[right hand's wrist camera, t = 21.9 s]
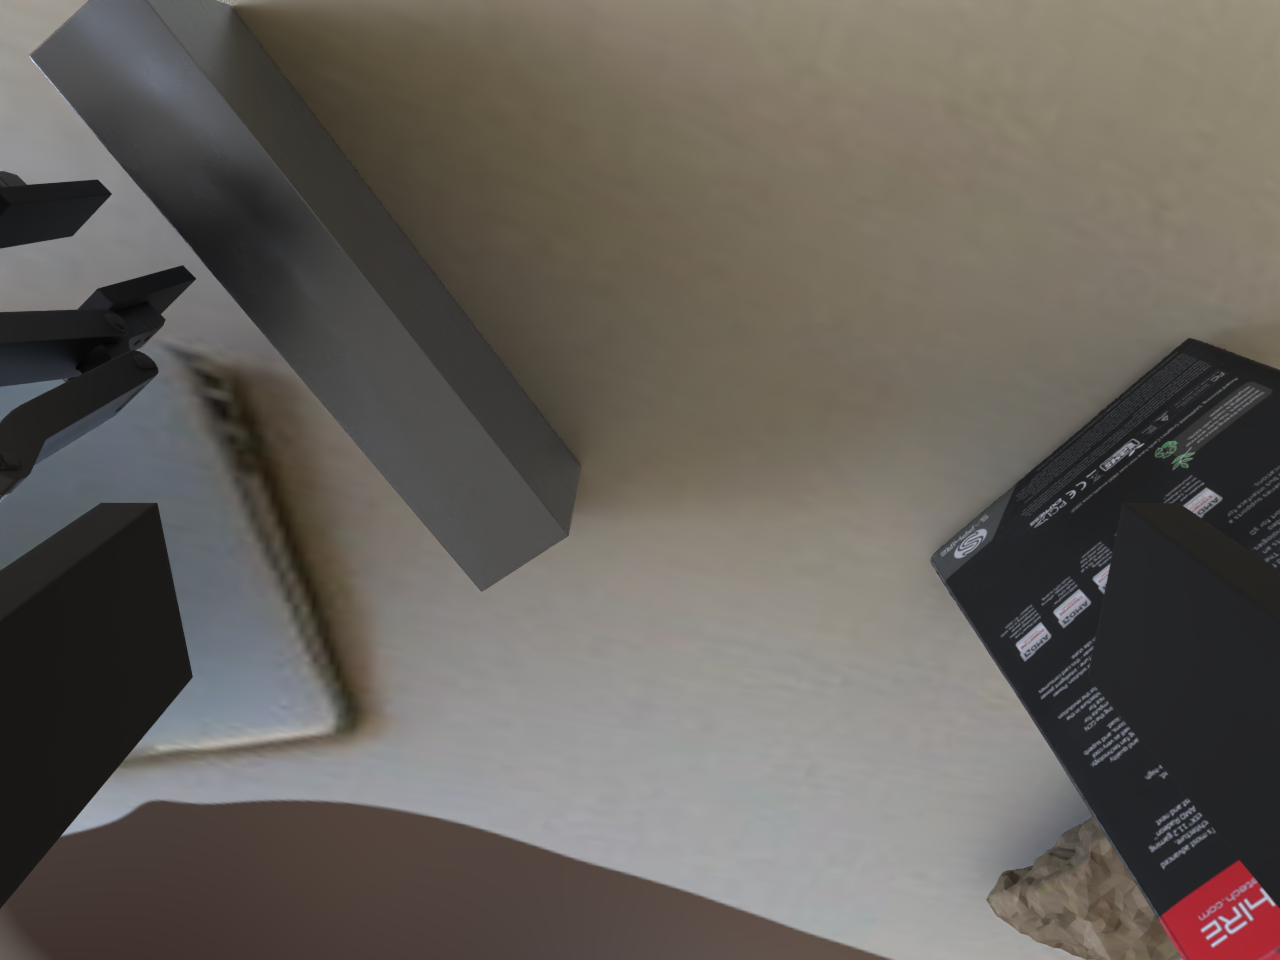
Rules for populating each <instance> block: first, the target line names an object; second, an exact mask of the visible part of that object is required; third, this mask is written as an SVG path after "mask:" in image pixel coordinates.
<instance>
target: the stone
mask: <svg viewBox="0 0 1280 960" xmlns="http://www.w3.org/2000/svg"><path fill="white" fill-rule="evenodd" d="M987 902H988V903H989V904H990V906H991V908H992V909H993V911H994V912H995V914H996V915H997V916H998V917H1000V918H1001V919H1002V920H1004V921H1005V922H1007V923H1008V924H1010V925H1011V926H1013V927H1014V928H1015V929H1016V930H1017V931H1019V932H1020V933H1022V934H1026V935H1029V936H1030V937H1031V938H1032V939H1034V940H1035V941H1037V942H1040V943H1043V944H1047V945H1049V946H1051V947H1053V948H1061V949H1063V950H1065V951H1067V952H1069V953H1070V954H1072V955H1075V956H1079V957H1082V958H1084V959H1086V960H1183V959H1182V957H1181V956H1180V954H1179V952H1178V951H1177V949H1176V947H1175V946H1174V944H1173V943H1172V941H1171V939H1170V938H1169V936H1168V934H1167V933H1166V931H1165V930H1164V928H1163V926H1162V925H1161V923H1160V921H1159V920H1158V918H1157V917H1156V915H1155V913H1154V912H1153V910H1152V909H1151V907H1150V905H1149V904H1148V902H1147V901H1146V899H1145V897H1144V896H1143V894H1142V893H1141V891H1140V889H1139V888H1138V886H1137V885H1136V883H1135V881H1134V880H1133V878H1132V876H1131V875H1130V873H1129V872H1128V870H1127V868H1126V867H1125V865H1124V864H1123V862H1122V860H1121V859H1120V857H1119V856H1118V854H1117V853H1116V851H1115V850H1114V848H1113V847H1112V845H1111V844H1110V842H1109V840H1108V839H1107V837H1106V836H1105V834H1104V832H1103V831H1102V829H1101V828H1100V826H1099V824H1098V823H1097V821H1096V820H1095V818H1094V816H1093V817H1091V818H1090V819H1089V820H1087V821H1086V822H1085V823H1083V825H1078V826H1076V827H1074V828H1072V829H1070V830H1069V831H1067V832H1065V833H1064V834H1063V835H1062V836H1061V837H1060V838H1059V839H1058V840H1057V844H1056V846H1055V847H1053V848H1052V849H1050V850H1047V851H1046V853H1045V854H1043V855H1042V856H1040V857H1039V858H1037V859H1036V860H1035V864H1034V866H1031V867H1027V868H1024V869H1016V870H1009V871H1005V872H1003V873H1002V874H1001V876H1000V877H999V880H998V882H997V884H996V886H995V888H994V889H993V890H992V891H991V892H990V893H989V895H988V897H987Z"/></svg>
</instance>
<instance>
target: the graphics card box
mask: <svg viewBox="0 0 1280 960" xmlns="http://www.w3.org/2000/svg"><path fill="white" fill-rule="evenodd" d="M1123 503H1180V504H1181V505H1183V506H1184V507H1186V508H1187V509H1189V510H1190V511H1192V512H1193V513H1195V514H1196V515H1198V516H1199V517H1200V518H1202V519H1203V520H1205V521H1206V522H1208V523H1209V524H1211V525H1212V526H1214V527H1215V528H1217V529H1218V530H1220V531H1221V532H1223V533H1224V534H1226V535H1227V536H1229V537H1230V538H1232V539H1233V540H1235V541H1236V542H1238V543H1239V544H1240V545H1242V546H1243V547H1245V548H1246V549H1248V550H1249V551H1251V552H1252V553H1254V554H1255V555H1257V556H1258V557H1260V558H1261V559H1263V560H1264V561H1266V562H1267V563H1269V564H1270V565H1272V566H1273V567H1275V568H1276V569H1278V570H1279V571H1280V370H1278V369H1275V368H1273V367H1270V366H1268V365H1265V364H1262V363H1259V362H1256V361H1254V360H1250V359H1248V358H1245V357H1242V356H1240V355H1236V354H1234V353H1232V352H1228V351H1226V350H1225V349H1221V348H1219V347H1215V346H1213V345H1210V344H1208V343H1204V342H1202V341H1199V340H1195V339H1192V338H1188V339H1187V340H1186V341H1184V342H1183V343H1182V344H1181V345H1180V346H1178V347H1177V348H1176V349H1175V350H1174V351H1173V352H1172V353H1171V354H1169V355H1168V356H1167V357H1165V358H1164V359H1163V360H1162V361H1161V362H1160V363H1158V364H1157V365H1156V366H1155V367H1154V368H1153V369H1152V370H1150V371H1149V372H1148V373H1146V374H1145V375H1144V376H1143V377H1141V378H1140V379H1139V380H1138V381H1137V382H1136V383H1135V384H1133V385H1132V386H1131V387H1130V388H1129V389H1128V390H1126V391H1125V392H1124V393H1123V394H1121V395H1120V396H1119V398H1116V399H1115V401H1113V402H1112V403H1111V404H1110V405H1108V406H1107V408H1106V409H1104V410H1102V411H1101V412H1100V413H1099V414H1098V415H1097V416H1096V417H1094V418H1093V419H1092V420H1091V421H1090V422H1089V423H1088V424H1087V425H1085V426H1084V427H1083V428H1082V429H1081V430H1079V431H1078V432H1077V433H1076V434H1075V435H1074V436H1072V437H1070V439H1069V440H1068V441H1067V442H1065V443H1064V444H1063V445H1061V446H1060V447H1059V448H1058V449H1057V450H1055V451H1054V452H1053V453H1052V454H1051V455H1050V456H1049V457H1048V458H1046V459H1045V460H1044V461H1043V462H1041V463H1040V464H1039V465H1038V466H1036V467H1035V468H1034V469H1033V470H1032V471H1031V472H1029V473H1028V474H1027V475H1026V476H1025V477H1024V478H1023V479H1022V480H1020V481H1019V482H1018V483H1017V484H1016V485H1014V486H1013V487H1012V488H1011V489H1010V490H1008V491H1007V492H1006V493H1005V494H1004V495H1002V496H1001V497H1000V498H999V499H998V500H997V501H995V502H994V503H993V504H992V505H991V506H989V507H988V508H987V509H986V510H985V511H983V512H982V513H981V514H980V515H979V516H978V517H976V518H975V519H974V520H973V521H971V522H970V523H969V524H968V525H967V526H966V527H965V528H964V529H962V530H961V531H960V532H959V533H957V534H956V535H955V536H954V537H953V538H952V539H951V540H949V541H948V542H947V543H946V544H945V545H943V546H942V547H941V548H940V549H939V550H938V551H937V552H936V553H935V554H934V555H933V556H932V558H931V563H932V565H933V567H934V568H935V570H936V572H937V574H938V575H939V576H940V578H941V580H942V582H943V583H944V585H945V586H946V587H947V589H948V591H949V593H950V595H951V596H952V597H953V599H954V600H955V601H956V603H957V605H958V606H959V608H960V610H961V611H962V612H963V614H964V615H965V617H966V619H967V620H968V622H969V623H970V625H971V626H972V628H973V629H974V631H975V632H976V634H977V636H978V637H979V638H980V640H981V641H982V643H983V644H984V646H985V648H986V649H987V651H988V652H989V654H990V655H991V657H992V659H993V660H994V661H995V663H996V664H997V666H998V668H999V669H1000V671H1001V672H1002V674H1003V675H1004V677H1005V678H1006V679H1007V681H1008V682H1009V684H1010V685H1011V687H1012V688H1013V690H1014V692H1015V693H1016V695H1017V696H1018V698H1019V699H1020V701H1021V703H1022V704H1023V706H1024V707H1025V709H1026V710H1027V712H1028V713H1029V715H1030V716H1031V718H1032V720H1033V721H1034V723H1035V724H1036V726H1037V727H1038V729H1039V731H1040V732H1041V734H1042V735H1043V737H1044V738H1045V740H1046V742H1047V743H1048V745H1049V746H1050V748H1051V749H1052V751H1053V752H1054V754H1055V755H1056V757H1057V759H1058V760H1059V762H1060V764H1061V765H1062V767H1063V768H1064V770H1065V772H1066V773H1067V775H1068V776H1069V778H1070V780H1071V781H1072V783H1073V784H1074V786H1075V788H1076V789H1077V791H1078V792H1079V794H1080V796H1081V797H1082V799H1083V800H1084V802H1085V804H1086V805H1087V807H1088V808H1089V810H1090V812H1091V813H1092V815H1093V816H1094V818H1095V820H1096V821H1097V823H1098V824H1099V826H1100V828H1101V829H1102V831H1103V832H1104V834H1105V836H1106V837H1107V839H1108V840H1109V842H1110V844H1111V845H1112V847H1113V848H1114V850H1115V851H1116V853H1117V854H1118V856H1119V857H1120V859H1121V860H1122V862H1123V864H1124V865H1125V867H1126V868H1127V870H1128V872H1129V873H1130V875H1131V876H1132V878H1133V880H1134V881H1135V883H1136V885H1137V886H1138V888H1139V889H1140V891H1141V893H1142V894H1143V896H1144V897H1145V899H1146V901H1147V902H1148V904H1149V905H1150V907H1151V909H1152V910H1153V912H1154V913H1155V915H1156V917H1157V918H1158V920H1159V921H1160V923H1161V925H1162V926H1163V928H1164V930H1165V931H1166V933H1167V934H1168V936H1169V938H1170V939H1171V941H1172V943H1173V944H1174V946H1175V947H1176V949H1177V951H1178V952H1179V954H1180V956H1181V957H1182V959H1183V960H1280V908H1279V907H1278V906H1277V905H1276V904H1275V902H1274V901H1273V900H1272V899H1271V898H1270V896H1269V895H1268V894H1267V893H1266V892H1265V890H1264V889H1263V888H1262V887H1261V886H1260V884H1259V883H1258V882H1257V881H1256V879H1255V878H1254V877H1253V876H1252V875H1251V873H1250V872H1249V871H1248V870H1247V869H1246V867H1245V866H1244V865H1243V864H1242V863H1241V861H1240V860H1239V859H1238V858H1237V857H1236V855H1235V854H1234V853H1233V852H1232V851H1231V849H1230V848H1229V847H1228V846H1227V845H1226V843H1225V842H1224V841H1223V840H1222V839H1221V837H1220V836H1219V835H1218V834H1217V833H1216V831H1215V830H1214V829H1213V828H1212V827H1211V825H1210V824H1209V823H1208V822H1207V821H1206V819H1205V818H1204V817H1203V816H1202V815H1201V813H1200V812H1199V811H1198V810H1197V809H1196V807H1195V806H1194V805H1193V804H1192V803H1191V801H1190V800H1189V799H1188V798H1187V797H1186V795H1185V794H1184V793H1183V792H1182V791H1181V789H1180V788H1179V787H1178V786H1177V784H1176V783H1175V782H1174V781H1173V780H1172V778H1171V777H1170V776H1169V775H1168V774H1167V772H1166V771H1165V770H1164V769H1163V768H1162V766H1161V765H1160V764H1159V763H1158V762H1157V760H1156V759H1155V758H1154V757H1153V756H1152V754H1151V753H1150V752H1149V751H1148V750H1147V748H1146V747H1145V746H1144V745H1143V744H1142V742H1141V741H1140V740H1139V739H1138V738H1137V736H1136V735H1135V734H1134V733H1133V732H1132V730H1131V729H1130V728H1129V727H1128V726H1127V724H1126V723H1125V722H1124V721H1123V720H1122V718H1121V717H1120V716H1119V715H1118V714H1117V712H1116V711H1115V710H1114V709H1113V708H1112V706H1111V705H1110V704H1109V703H1108V702H1107V700H1106V699H1105V698H1104V697H1103V696H1102V694H1101V693H1100V692H1099V691H1098V689H1097V688H1096V687H1095V686H1094V685H1093V683H1092V682H1091V681H1090V680H1089V679H1088V677H1087V676H1088V671H1089V666H1090V661H1091V656H1092V651H1093V646H1094V641H1095V637H1096V632H1097V627H1098V622H1099V617H1100V612H1101V607H1102V602H1103V597H1104V592H1105V588H1106V583H1107V578H1108V573H1109V568H1110V563H1111V558H1112V553H1113V548H1114V543H1115V539H1116V534H1117V529H1118V524H1119V519H1120V514H1121V509H1122V504H1123Z"/></svg>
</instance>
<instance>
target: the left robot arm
mask: <svg viewBox="0 0 1280 960" xmlns="http://www.w3.org/2000/svg"><path fill="white" fill-rule="evenodd" d="M110 196H111V193H110V191H109V190H108V189H107V188H106V187H105V186H104V185H103V184H102V183H101V182H100V181H99V180H87V181H73V182H60V183H47V184H34V185H27V184H26V183H25V182H23V181H22V180H21V179H20V178H19V177H18V176H17V175H15V174H11V173H8V172H5V171H1V172H0V248H6V247H12V246H17V245H23V244H29V243H35V242H41V241H47V240H53V239H58V238H64V237H70V236H73V235H74V234H75V233H76V232H77V231H78V230H79V229H80V227H81V226H82V225H83V224H84V223H85V222H86V221H87V220H88V219H89V218H90V217H91V216H92V215H93V214H94V213H95V212H96V210H97V209H98V208H99V207H100V206H101V205H102V204H103V203H104V202H105V201H106V200H107V199H108V198H109V197H110ZM195 280H196V278H195V277H194V276H193V275H192V274H191V273H190V272H189V271H188V270H187V269H186V268H185V267H184V266H179V267H175V268H172V269H168V270H164V271H161V272H157V273H153V274H150V275H146V276H142V277H139V278H135V279H131V280H128V281H124V282H121V283H117V284H113V285H110V286H106V287H102V288H99V289H97V290H96V291H95V292H94V293H93V294H92V295H91V296H90V297H89V298H88V299H87V300H86V301H85V302H84V303H83V304H82V305H81V307H80V308H79V309H78V310H56V311H24V312H0V387H2V386H10V385H18V384H26V383H34V382H41V381H49V380H57V379H63V380H64V381H65V382H66V383H64V384H62V385H60V386H58V387H56V388H54V389H52V390H50V391H48V392H46V393H44V394H42V395H40V396H38V397H36V398H34V399H32V400H30V401H28V402H26V403H24V404H22V405H20V406H19V407H17V408H15V409H14V410H12V411H11V412H10V413H9V414H8V415H7V416H6V417H5V418H4V419H3V420H2V421H1V422H0V503H1V502H2V501H3V500H4V499H5V498H6V497H7V496H8V495H9V494H10V493H11V492H12V491H13V490H14V489H15V488H16V487H17V486H18V485H19V484H20V483H21V482H22V481H23V480H24V479H25V478H26V477H27V476H28V475H29V474H30V473H31V470H32V468H33V466H34V465H35V464H37V463H39V462H40V461H42V460H43V459H45V458H47V457H48V456H50V455H52V454H53V453H55V452H56V451H58V450H60V449H61V448H63V447H65V446H66V445H68V444H69V443H71V442H73V441H74V440H76V439H78V438H79V437H81V436H82V435H84V434H86V433H87V432H89V431H91V430H92V429H94V428H95V427H97V426H99V425H100V424H102V423H104V422H105V421H107V420H108V419H110V418H112V417H113V416H115V415H116V414H117V413H118V412H119V411H120V410H121V409H122V408H123V407H124V406H125V405H126V404H127V403H128V402H129V401H130V400H131V399H133V398H134V397H135V396H136V395H137V394H138V393H139V392H140V391H141V390H142V389H143V388H144V387H145V386H146V385H147V384H148V383H149V382H150V381H151V380H152V379H153V378H154V377H155V376H156V375H157V374H158V367H157V366H156V364H155V362H154V361H153V360H152V359H151V358H150V357H148V356H147V355H146V354H144V353H142V352H140V351H136V349H139V348H141V347H142V346H143V345H144V344H145V343H146V342H147V341H148V340H149V339H150V338H151V337H152V336H153V335H154V334H155V333H156V332H157V331H158V330H159V329H160V328H161V327H162V326H163V325H164V322H165V318H164V317H163V316H162V315H161V313H162V312H163V311H164V310H165V309H166V308H167V307H168V306H169V305H170V304H171V303H172V302H173V301H174V300H175V299H176V298H177V297H178V296H179V295H180V294H181V293H182V292H183V291H184V290H185V289H186V288H188V287H189V286H190V285H191V284H192V283H193V282H194V281H195Z"/></svg>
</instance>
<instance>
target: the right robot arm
mask: <svg viewBox="0 0 1280 960" xmlns="http://www.w3.org/2000/svg"><path fill="white" fill-rule="evenodd" d="M192 677H193V676H192V671H191V666H190V661H189V656H188V651H187V646H186V641H185V637H184V632H183V627H182V622H181V617H180V612H179V607H178V602H177V597H176V592H175V588H174V583H173V578H172V573H171V568H170V563H169V558H168V553H167V548H166V543H165V539H164V534H163V529H162V524H161V519H160V514H159V509H158V504H157V503H100V504H99V505H97V506H96V507H94V508H93V509H91V510H90V511H88V512H87V513H85V514H84V515H82V516H81V517H80V518H78V519H77V520H75V521H74V522H72V523H71V524H69V525H68V526H66V527H65V528H63V529H62V530H60V531H59V532H57V533H56V534H54V535H53V536H51V537H50V538H48V539H47V540H45V541H44V542H42V543H41V544H40V545H38V546H37V547H35V548H34V549H32V550H31V551H29V552H28V553H26V554H25V555H23V556H22V557H20V558H19V559H17V560H16V561H14V562H13V563H11V564H10V565H8V566H7V567H5V568H4V569H2V570H1V571H0V908H1V907H2V906H3V905H4V904H5V902H6V901H7V900H8V899H9V898H10V896H11V895H12V894H13V893H14V891H15V890H16V889H17V888H18V887H19V885H20V884H21V883H22V882H23V881H24V879H25V878H26V877H27V876H28V875H29V873H30V872H31V871H32V870H33V869H34V867H35V866H36V865H37V864H38V863H39V861H40V860H41V859H42V858H43V857H44V855H45V854H46V853H47V852H48V851H49V849H50V848H51V847H52V846H53V845H54V843H55V842H56V841H57V840H58V839H59V837H60V836H61V835H62V834H63V833H64V831H65V830H66V829H67V828H68V827H69V825H70V824H71V823H72V822H73V821H74V819H75V818H76V817H77V816H78V815H79V813H80V812H81V811H82V810H83V809H84V807H85V806H86V805H87V804H88V803H89V801H90V800H91V799H92V798H93V797H94V795H95V794H96V793H97V792H98V791H99V789H100V788H101V787H102V786H103V784H104V783H105V782H106V781H107V780H108V778H109V777H110V776H111V775H112V774H113V772H114V771H115V770H116V769H117V768H118V766H119V765H120V764H121V763H122V762H123V760H124V759H125V758H126V757H127V756H128V754H129V753H130V752H131V751H132V750H133V748H134V747H135V746H136V745H137V744H138V742H139V741H140V740H141V739H142V738H143V736H144V735H145V734H146V733H147V732H148V730H149V729H150V728H151V727H152V726H153V724H154V723H155V722H156V721H157V720H158V718H159V717H160V716H161V715H162V714H163V712H164V711H165V710H166V709H167V708H168V706H169V705H170V704H171V703H172V702H173V700H174V699H175V698H176V697H177V696H178V694H179V693H180V692H181V691H182V689H183V688H184V687H185V686H186V685H187V683H188V682H189V681H190V680H191V679H192ZM1087 677H1088V679H1089V680H1090V681H1091V682H1092V683H1093V685H1094V686H1095V687H1096V688H1097V689H1098V691H1099V692H1100V693H1101V694H1102V696H1103V697H1104V698H1105V699H1106V700H1107V702H1108V703H1109V704H1110V705H1111V706H1112V708H1113V709H1114V710H1115V711H1116V712H1117V714H1118V715H1119V716H1120V717H1121V718H1122V720H1123V721H1124V722H1125V723H1126V724H1127V726H1128V727H1129V728H1130V729H1131V730H1132V732H1133V733H1134V734H1135V735H1136V736H1137V738H1138V739H1139V740H1140V741H1141V742H1142V744H1143V745H1144V746H1145V747H1146V748H1147V750H1148V751H1149V752H1150V753H1151V754H1152V756H1153V757H1154V758H1155V759H1156V760H1157V762H1158V763H1159V764H1160V765H1161V766H1162V768H1163V769H1164V770H1165V771H1166V772H1167V774H1168V775H1169V776H1170V777H1171V778H1172V780H1173V781H1174V782H1175V783H1176V784H1177V786H1178V787H1179V788H1180V789H1181V791H1182V792H1183V793H1184V794H1185V795H1186V797H1187V798H1188V799H1189V800H1190V801H1191V803H1192V804H1193V805H1194V806H1195V807H1196V809H1197V810H1198V811H1199V812H1200V813H1201V815H1202V816H1203V817H1204V818H1205V819H1206V821H1207V822H1208V823H1209V824H1210V825H1211V827H1212V828H1213V829H1214V830H1215V831H1216V833H1217V834H1218V835H1219V836H1220V837H1221V839H1222V840H1223V841H1224V842H1225V843H1226V845H1227V846H1228V847H1229V848H1230V849H1231V851H1232V852H1233V853H1234V854H1235V855H1236V857H1237V858H1238V859H1239V860H1240V861H1241V863H1242V864H1243V865H1244V866H1245V867H1246V869H1247V870H1248V871H1249V872H1250V873H1251V875H1252V876H1253V877H1254V878H1255V879H1256V881H1257V882H1258V883H1259V884H1260V886H1261V887H1262V888H1263V889H1264V890H1265V892H1266V893H1267V894H1268V895H1269V896H1270V898H1271V899H1272V900H1273V901H1274V902H1275V904H1276V905H1277V906H1278V907H1279V908H1280V571H1279V570H1278V569H1276V568H1275V567H1273V566H1272V565H1270V564H1269V563H1267V562H1266V561H1264V560H1263V559H1261V558H1260V557H1258V556H1257V555H1255V554H1254V553H1252V552H1251V551H1249V550H1248V549H1246V548H1245V547H1243V546H1242V545H1240V544H1239V543H1238V542H1236V541H1235V540H1233V539H1232V538H1230V537H1229V536H1227V535H1226V534H1224V533H1223V532H1221V531H1220V530H1218V529H1217V528H1215V527H1214V526H1212V525H1211V524H1209V523H1208V522H1206V521H1205V520H1203V519H1202V518H1200V517H1199V516H1198V515H1196V514H1195V513H1193V512H1192V511H1190V510H1189V509H1187V508H1186V507H1184V506H1183V505H1181V504H1180V503H1123V504H1122V509H1121V514H1120V519H1119V524H1118V529H1117V534H1116V539H1115V543H1114V548H1113V553H1112V558H1111V563H1110V568H1109V573H1108V578H1107V583H1106V588H1105V592H1104V597H1103V602H1102V607H1101V612H1100V617H1099V622H1098V627H1097V632H1096V637H1095V641H1094V646H1093V651H1092V656H1091V661H1090V666H1089V671H1088V676H1087Z"/></svg>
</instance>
